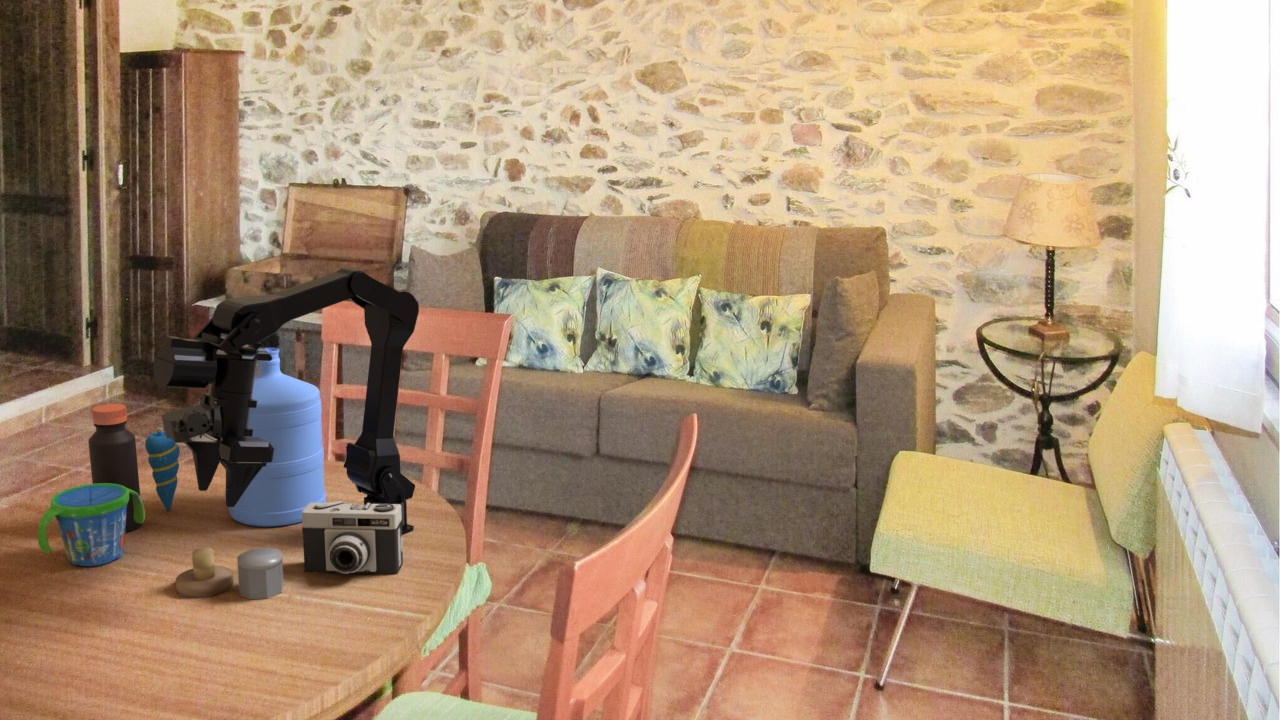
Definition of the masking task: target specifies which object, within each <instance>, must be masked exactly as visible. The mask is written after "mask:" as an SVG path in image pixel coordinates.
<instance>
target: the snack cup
mask: <svg viewBox="0 0 1280 720" xmlns="http://www.w3.org/2000/svg"><path fill="white" fill-rule="evenodd" d="M129 493H130V494H132V497H133V505H134V520H135V522H137V523H142V524H143V523H144V522H145V518H146V510H145V506H144V502H143V500H142V497H141V495H140V496H139V494H138V493H137V492H135V491H133V490H131V489H128V488H126V487H124V486H122V485H118V484H111V483H98V484H92V483H88V484H81V485H76V486H73V487H69V488H66V489H63V490H62V491H59V492H57V493H56V494H54V495H53V496H52V497H51V499H50V506H49V508H47V509H46V511H44V512H43V515H42V517H41V518H40V521H39V523H38V529H37V544H38V546H39V548H40V550H41V551H42V552H43V553H45V554H51V553H52V550H51V546H50V544H49V540H48V536H47V529H48V526H49V525H50V523H51V522H52V521H53V519H54V518H55V520H56V521H57V525H58V528H59V529H58V530H59V532H60V534H61V538H62V539H61V540H62V543H63V546H64V550H65V553H66V556H67V558H68V560H69V561H70V563H71V564H72V565H73V566H81V567H94V566H95V567H96V566H101V565H106V564H109V563H111V562H113V561H115V560H117V559H120V558H121V557H122V555H123V553H124V551H125V550H124V548H125V544H126V543H125V542H126V532H125V526H126V508H127V503H128V501H129Z"/></svg>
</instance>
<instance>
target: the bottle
mask: <svg viewBox="0 0 1280 720" xmlns="http://www.w3.org/2000/svg"><path fill="white" fill-rule="evenodd" d="M91 415H92V424H93V427H95V431H94V433H92V435H91V436H90V437H89V439H88V443H87V444H88V452H89V462H90V471H91V484H98V483H111V484H118V485H122V486H124V487H126V488H128V489H131V490H133V491H135V492H137V493H138V494H139V496H140V497H141V491H140V489H141V488H140V479H139V469H138V467H139V466H138V453H137V442H136V436H135V434H134V433H133V432H132V431H130V430H129V429H128V428H127V427H126V424H127V423H128V415H127V406H126V405H125V404H123V403H122V404H120V403H107V404H100V405H97V406H94V407H93V408H92V409H91ZM142 525H143V523H137V522H135V520H134V505H133V497H132V494H130V493H129V501H128V503H127V508H126V526H125V533H128V532H131V531H135V530H137V529H138V528H140V527H141V526H142Z"/></svg>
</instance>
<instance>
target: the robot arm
mask: <svg viewBox="0 0 1280 720" xmlns="http://www.w3.org/2000/svg"><path fill="white" fill-rule="evenodd" d="M347 300H350V301H351V302H352V303H353V304H355V305H356V306H358V307H360V308H361V309H363V310H364V311H363V315H364V316H363V317H364V326H365V329H366V332H367V334H368V337H369V340H370V345H371V346H370V353H369V356H370V357H369V364H368V373H367V374H368V375H367V384H366V391H365V401H364V409H363V410H364V411H363V420H362V422H363V423H362V429H361V434H360V435H359V437H358V438H357V440H356V441H355V443H354V442H347V444H346V447H345V448H346V449H345V451H346V453H345V454H346V458H345V461H344V464H343V468H344V469H346V476H347V478H348V479H349V480H350V481H351V482H352V484H354V485H355V488H356V490H357V492H359V493H362V494H364V495H366V496H364V497H363V505H366V504H367V503H370V504H400V505H401V513H402V535H403V534H405V533H408V532H411V531H413V530H415V529H414V528H415V526H414V525H412V524H408V515H407V512H408V509H407V500H409V499H412V498H413V496H414V493H415V488H416V485H415V484H414V483H413V482H412V481H411V480H410V479H409V478H407V477H406V476H405V475H403V473H402V472H401V454H400V451H399V448H398V445H397V443H396V440H395V425H396V417H397V416H396V414H397V408H398V407H397V406H398V398H399V388H400V382H401V369H402V363H403V362H402V361H403V352H404V348H405V346H406V344H407V343H408V341H409V340H410V338H411V336H412V335H413V333H414V332H415V328H416V324H417V320H418V317H419V313H420V306H419V305H420V304H419V301H418V300H417V299H416V298H415V296H414V295H413V294H412V293H410V292H408V291H404V290H398V289H395V288H393V287H391V286H389V285H387V284H385V283H382V282H381V281H379V280H376V279H375V278H373V277H372V276H370V275H369V274H367V273H366V272H365V271H364V270H360V269H354V268H349V267H342V268H340V269H338V270H336V271H335V272H332V273H330V274H327V275H324V276H321V277H318V278H315V279H313V280H310V281H307V282H303V283H301V284H298V285H295V286H292V287H289V288H287V289H283V290H280V291H277V292H274V293H272V294H264V295H249V296H241V297H234V298H228V299H224V300H223V301H221V302H219V303H218V304H217V305H216V308H215V310H214V312H213V315H212V316H211V318H210V319H209V320H208V321H207V322H206V323H205V325H204V326H203V327H202V328H201V329H200V330H199V331H198V332H197V333H196V334H195V336H193V338H191V339H190V338H189V339H188V338H180V337H177V336H171V335H170V336H169V335H166V336H165V338H164V339H165V340H164V344H163V345H162V346H161V347H160V348H159V349H158V351H157V353H156V356H155V357H154V359H153V365H152V367H153V368H152V369H153V372H152V373H153V376H154V377H153V378H154V380H155V382H156V384H157V386H159V388H174V389H175V388H179V389H204V388H207V386H208V385H209V390H208V392H203V394H201V395H200V400H199V403H197V404H195V405H190V406H186V407H183V408H179V409H175V410H173V411H170V412H169V411H168V412H166V413H163V414H162V415H161V421H162V425H163V431H164V432H165V434H166V437H167V438H171V439H172V440H173V441H174V442H176V443H177V444H179V443H184V445H185V446H186V447H188V449H189V450H190V451H191V453H192V458H193V463H194V469H195V475H196V481H197V486H198V490H199V491H200V492H205V491H208V490H209V487H210V485H211V483H212V481H213V479H214V476H215V475H216V472H217V469H218V467H219V464H220V465H221V466H222V467H223V468H224V469H225V506H226V508H229V507H234V506H235V505H236V503H237V502H238V501H239V499H240V498H241V496H242V495H243V493H244V492H245V490H246V489H247V487H248V486H249V484H250V483H251V481H252V480H253V479H254V478H255V476H256V475H257V474H258V472H259V471H260V470H261V469H262V467H265V466H266V465H267V463H270V462H272V460H273V453H274V448H273V447H272V445H271V444H270V443H269V442H268V441H266V440H263V439H261V438H259V437H243V436H252V435H253V429H251V428H249V427H248V422H249V415H250V408H256V407H257V401H256V400H254V399H252V394H253V386H254V379H255V376H256V372H257V371H256V370H257V364H258V361H259V360H260V361H271V360H272V356H271V355H270V354H269V353H268V352H267V351H266V350H265V348H266V347H264V344H263V343H261V342H263V341H264V340H266V339H268V338H270V337H271V336H274V335H275V334H276V333H278V332H279V330H280V329H281V328H283V326H285V324H287V323H289V322H290V321H293V320H296V319H298V318H300V317H303V316H306V315H309V314H311V313H315V312H317V311H320V310H323V309H325V308H328V307H331V306H334V305H336V304H339V303H342V302H345V301H347Z"/></svg>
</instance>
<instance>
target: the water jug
mask: <svg viewBox="0 0 1280 720" xmlns="http://www.w3.org/2000/svg"><path fill="white" fill-rule="evenodd" d="M264 348H265V350H266V351H267V352H268V353H269V354H270V355H271V356H272V360H271V361H260V360H258V361H259V367H260V371H259V373H258V375H255V379H254V386H253V394H252V399H254V400H256V401H257V407H256V408H250V415H249V422H248V427H249V428H251V429H253V435H252V436H243V437H259V438H261V439H263V440H266V441H268V442H269V443H270V444H271V445H272V447H273V448H274V453H273V460H272V462H270V463H267V465H266V466H265V467H262V469H261V470H260V471H259V472H258V474H257V475H256V476H255V478H254V479H253V480H252V481H251V483H250V484H249V486H248V487H247V489H246V490H245V492H244V493H243V495H242V496H241V498H240V499H239V501H238V502H237V503H236V505H235V506H234V507H228V513H229V516H230V517H231V518H232V519H233V520H235V521H236V522H238V523H241V524H243V525H248V526H252V527H253V526H254V527H263V528H264V527H265V528H266V527H269V528H270V527H282V526H290V525H294V524H298V523H302V511H303V510H304V508H305V507H306V506H307V505H308V504H309V503H327V499H326V498H327V496H326V490H325V476H324V475H325V474H324V473H325V472H324V460H325V459H324V458H325V457H324V456H325V455H324V446H323V431H322V430H323V429H322V410H323V409H322V400H321V392H320V389H319V388H318V387H317V386H316V385H314V384H311V383H309V382H306V381H304V380H301V379H298V378H295V377H292V376H291V375H287V374H284V373H282V371H281V369H280V367H281V365H280V363H281V360H280V359H281V358H280V357H279V356H280V355H279V353H280V349H279V348H276V347H264Z"/></svg>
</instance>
